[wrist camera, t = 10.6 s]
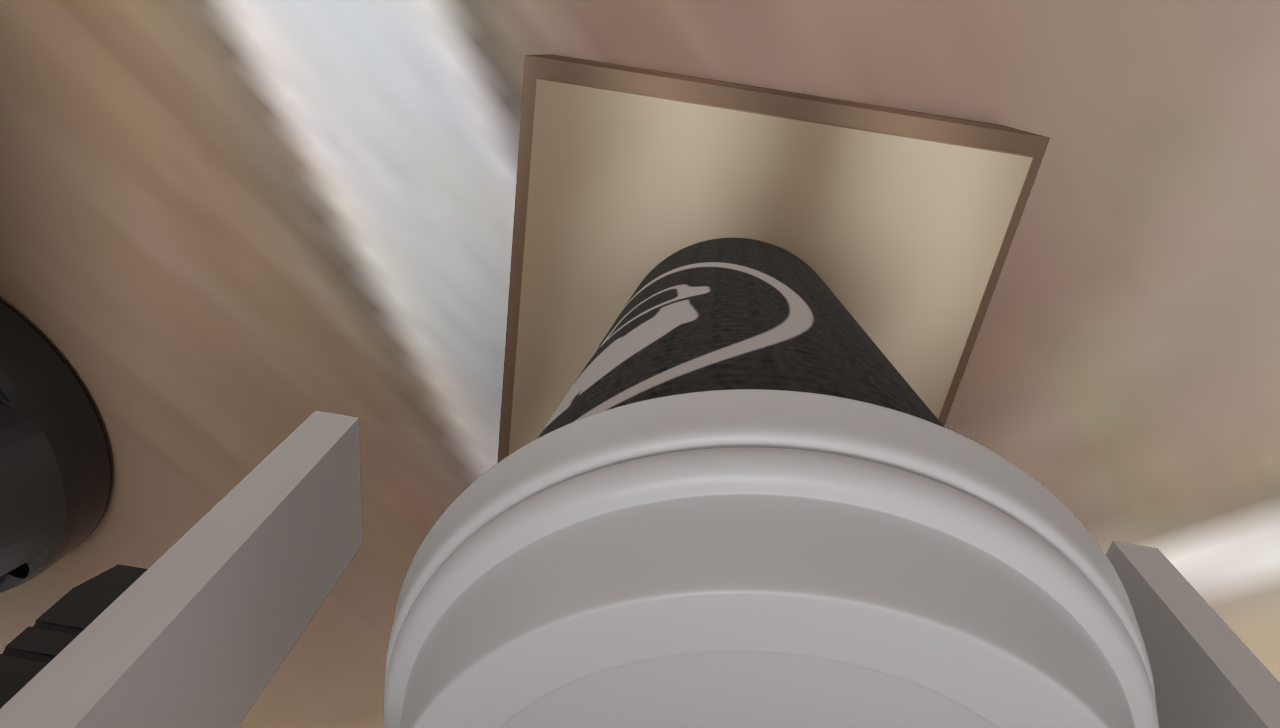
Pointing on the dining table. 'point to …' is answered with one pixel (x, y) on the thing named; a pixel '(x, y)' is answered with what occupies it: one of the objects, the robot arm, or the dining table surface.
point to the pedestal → (748, 214)
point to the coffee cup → (758, 544)
